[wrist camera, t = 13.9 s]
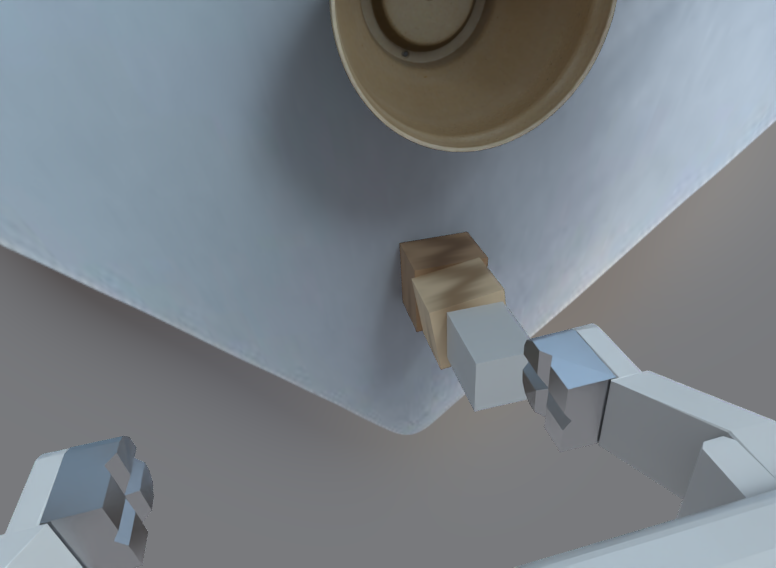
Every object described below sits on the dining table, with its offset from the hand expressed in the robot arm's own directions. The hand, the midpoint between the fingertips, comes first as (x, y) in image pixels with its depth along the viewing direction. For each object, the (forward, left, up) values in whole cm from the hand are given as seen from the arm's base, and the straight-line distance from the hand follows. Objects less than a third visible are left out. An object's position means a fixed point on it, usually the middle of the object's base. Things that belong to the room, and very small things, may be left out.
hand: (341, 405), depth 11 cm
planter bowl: (-12, -5, -33) cm, 35 cm away
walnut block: (-11, +18, -32) cm, 39 cm away
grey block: (-12, +18, -22) cm, 31 cm away
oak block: (-11, +18, -27) cm, 35 cm away
